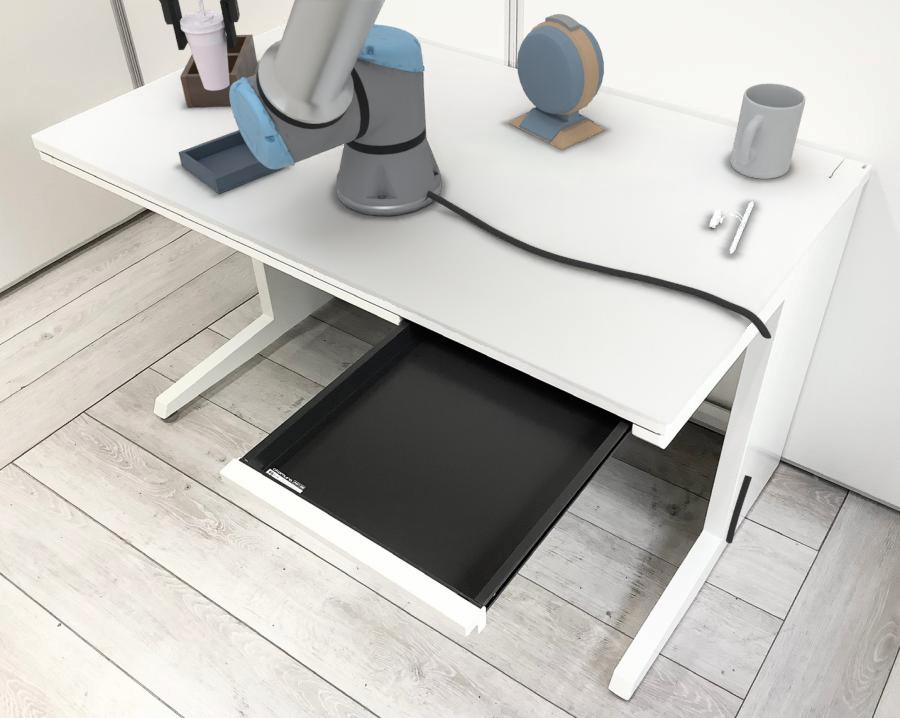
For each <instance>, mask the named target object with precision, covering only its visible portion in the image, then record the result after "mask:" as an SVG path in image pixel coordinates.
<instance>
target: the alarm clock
mask: <svg viewBox="0 0 900 718" xmlns="http://www.w3.org/2000/svg"><path fill="white" fill-rule="evenodd" d="M516 68H517V69H516V71H517V75H518V80H519V84H520V87H521V88H522V90H523V93H524V94H525V96H526V97H527V99H528V101H530V103H531V104H532V105H533V106H535V107H532V108H530V110H529V111H528V112H526V113H524V114H522V115H520V116H518V117H516V118H513V119H512V120H510V121H508V124H509V125H510V126H513V127H515V128H517V129H519V130H521V131H523V132H525V133H527V134H529V135H531V136H533V137H535V138H537V139H539V140H541V141H543V142H544V143H547V144H549V145H551V146H553V147H556V149H557V148H558V149H559V150H562V151H563V150H565V149H567V148H569V147H571V146H573V145H575V144H579V143H580V142H582V141H584V140H587V139H589V138H591V137H594V136H595V135H598V134H600V133H602V132H605V131H606V128H604V127H602V126H601V125H598V124H596V123H595V121H594V120H592V119H590V118H589V117H587V116H585V115H584V114H581V113H580V111H581V110H582V109H584V108H587V106H588V105H589V104H590V103H592V101H593V99H594V98H595V97H596V96H597V95H598V92H599V90H600V88H601V86H602V84H603V80H604V75H605V61H604V55H603V51H602V49H601V46H600V44H599V42H598V40H597V39H596V37H595V36H594V34H593V32H591V31H590V29H588V27H586V26H585V25H584V24H583V25H582V24H581V23H579V22H578V21H577V20H576V19H575V18H574V17H571V16H570V15H567V14H564V13H563V14H562V13H557V14H552V15H549V16H546V17H545V19H544V21H542V22H539V23H538V24H537V25H535V26H534V27H532V29H531V30H530V31H529V32H528V33H527V34H526V36H525V37H524V39H523V40H522V42H521V43H520V47H519V49H518V52H517V59H516Z"/></svg>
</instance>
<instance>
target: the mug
mask: <svg viewBox="0 0 900 718" xmlns="http://www.w3.org/2000/svg"><path fill="white" fill-rule="evenodd" d="M805 104H806V96H805V95H804V93H803V92H802V91H800V90H799V89H797V88H794V87H792V86H789V85H785V84H781V83H759V84H755V85H751V86H749V87H748V88H747V89H745V91H744V93H743V96H742V100H741V107H740V110H739V116H738V121H737V126H736V131H735V136H734V141H733V146H732V150H731V155H730V165H731V167H732V169H734V170H735V171H736V172H737V173H739V174H740V175H743V176H746V177H749V178H754V179H760V180H769V179H776V178H781V177H782V176H784V175H785V174H786V173H787V172H788V171H789V170H790V167H791V163H792V158H793V153H794V151H795V145H796V143H797V142H796V141H797V138H798V133H799V129H800V126H801V121H802V117H803V113H804V109H805Z"/></svg>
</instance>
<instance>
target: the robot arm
mask: <svg viewBox="0 0 900 718" xmlns="http://www.w3.org/2000/svg"><path fill="white" fill-rule="evenodd" d="M158 2H159V3H160V7H161V10H162V14H163V20H164V22H165V24H166V25H167V26H168V25H172V28H173V33H174V36H175V41H176V45H177V50H178V51H184V50H185V49H186V48H187V45H189V44H188V41H187V38H186V35H185V32H184V31H182V30H181V25H180V20H181V18H182V17H183V13H182V9H181V4H180V0H158ZM385 3H386V0H294V1H293V4H292V6H291V10H290V14H289V16H288V19H287V22H286V24H285V28H284V31H283V33H282V37H281V39H280V40H278V41H275V42H274V43H273V44H271V45H270V46H269V47H268V48H267V49H266V50H265V52H264V53H263V54H262V56H261V58H260V60H259V64H258V67H257V68H256V69H257V70H256V73H254V74H253V76H250V77H248V78H245V77H242V78H241V79H240V80H238V81H236V82H234V83H233V84H232V85H231V87H230V92H229V96H230V104H231V106H230V108H231V111H232V115H233V118H234V121H235V123H236V126H237V128H238V130H239V131H240V133H241V135H242V137H243V139H244V141H245V142H246V144H247V146H248V147H249V149H250V151H251V152H252V153H253V155H254V156H255V157H256V159H257V160H258V161H259V162H260V163H262V164H263V165H264V166H266V167H267V168H270V169H280V168H282V169H284V168H286V167H289V166H293V167H294V166H295V165H296V163H299V162H301V161H302V162H303V161H304V160H307V159H310V158H312V157H314V156H315V157H316V156H317V155H319V154H322V153H325V152H327V151H328V152H329V151H331V150H333V149H336V148H338V147H341V146H343V147H342V153H341V156H340V157H341V159H340V162H339V169H338V172H337V174H336V180H335V181H336V183H335V184H336V193H337V197H338V199H339V201H340V202H341V203H342V204H343V205H344V206H345V207H346V208H348V209H350V210H352V211H355V212H356V213H357V212H358V213H361V214H365V215H370V216H382V217H383V216H386V217H387V216H388V217H389V216H398V215H405V214H408V213H413V212H415V211H419V210H421V209H423V208H425V207H427V206H428V205H430V204H431V203H433V202H435V203H438V204H440V205H441V206H443V207H444V208H446V209H448V210H449V211H451V212H453V213H455V214H457V215H458V216H460V217H462V218H464V219H465V220H466V221H468V222H470V223H472V224H473V225H475V226H477V227H478V228H480V229H482V230H483V231H485V232H487V233H488V234H491V235H492V236H494V237H496V238H498V239H500V240H502V241H504V242H506V243H508V244H510V245H512V246H514V247H515V248H516V247H517V248H518V249H520V250H523V251H526V252H528V253H531V254H533V255H536V256H538V257H542V258H544V259H547V260H549V261H552V262H556V263H560V264H563V265H567V266H571V267H575V268H579V269H583V270H588V271H592V272H596V273H599V274H604V275H608V276H613V277H617V278H622V279H626V280H632V281H636V282H641V283H644V284H645V283H646V284H649V285H654V286H657V287H660V288H664V289H668V290H672V291H676V292H680V293H682V294H687V295H690V296H693V297H696V298H699V299H701V300H705V301H707V302H710V303H712V304H714V305H717V306H718V307H720V308H723V309H725V310H729V311H731V312H733V313H736V314H738V315H740V316H743V317H744V318H745V319H747V320H748V321H749V322H751V323H752V324H753V326H754V327H755V328H756V330H758V332H759V334H760V335H761V337H762V338H764V339H767V340H770V339H772V334H771V332H770V330H769V329H768V327H767V326H766V324H765V323H764V321H763V320H762V319H761V318H760V316H758V315H756V313H754V312H752V311H751V310H749V309H748V308H746V307H743V306H741V305H740V304H736V303H733V302H731V301H728V300H726V299H724V298H722V297H720V296H717V295H715V294H712V293H709V292H707V291H704V290H702V289H698V288H695V287H691V286H688V285H684V284H680V283H677V282H673V281H670V280H665V279H663V278H659V277H654V276H650V275H647V274H646V275H645V274H642V273H637V272H631V271H627V270H622V269H617V268H614V267H610V266H604V265H600V264H596V263H592V262H587V261H583V260H580V259H579V260H578V259H576V258H575V259H574V258H571V257H567V256H563V255H560V254H556V253H554V252H551V251H547V250H544V249H542V248H540V247H537V246H534V245H531V244H529V243H526V242H525V241H522V240H519V239H517V238H516V237H513V236H512V235H509V234H507V233H505V232H503V231H501V230H499V229H497V228H495V227H493V226H492V225H490V224H489V223H486V222H485V221H483V220H482V219H479V217H477V216H475V215H474V214H471V213H470V212H468V211H467V210H465V209H463V208H462V207H460V206H458V205H456V204H454V203H453V202H451V201H449V200H447V199H445V198H444V197H443V196H440V194H441V190H442V175H441V172H440V168H439V166H438V163H437V160H436V157H435V156H434V152H433V150H432V148H431V146H430V143H429V140H428V137H427V121H426V105H425V104H426V101H425V100H426V99H425V79H424V78H425V77H424V74H425V73H424V72H425V65H424V59H423V53H422V52H423V51H422V46H421V42H420V40H419V39H418V38H417V36H415V35H414V34H412V33H410V32H409V31H407V30H404V29H402V28H398V27H395V26H390V25H386V24H385V25H384V24H375V23H376V21H377V19H378V17H379V14H380V12H381V10H382V8H383V6H384V4H385ZM219 4H220V10H221V13H222V16H223V21H224V26H225V31H226V36H227V41H228V46H229V48H235V46H236V43H237V35H238V34H237V30H236V26H235V25H236V24H235V23H238V22H239V19H240V17H241V13H240V8H239V1H238V0H219ZM283 167H284V168H283ZM280 170H281V169H280ZM752 479H753V476H751V475H746V474H745V475H744V476H743V480H742V483H741V486H740V489H739V492H738V495H737V499H736V500H735V501H736V502H735V505H734V508H733V511H732V515H731V518H730V522H729V526H728V530H727V532H726V537H725V543H727V544H732V543H733V541H734V537H735V532H736V529H737V526H738V522H739V519H740V515H741V513H742V509H743V506H744V503H745V500H746V498H747V493H748V491H749V488H750V485H751V482H752Z"/></svg>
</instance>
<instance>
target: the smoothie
mask: <svg viewBox="0 0 900 718" xmlns="http://www.w3.org/2000/svg"><path fill="white" fill-rule="evenodd" d="M197 1H198V6H199V11H194V12H191V13H188V14H186V15H184V16H182V18H181V20H180V25H181V30H182V31H184V32H185V35H186V38H187V41H188V44H187V45H188V47H189V49H190V52H191V55H193V58H194V61H195V63H196V66H197V69H198V72H199V75H200V77H201V80H202V83H203V86H204V88H205V89H207V90H212V91H214V90H221V89H224V88H226V87H228V86H229V70H228V57H227V43H226V31H225V26H224V21H223V16H222V11H217V10H205V6H204V0H197Z"/></svg>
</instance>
